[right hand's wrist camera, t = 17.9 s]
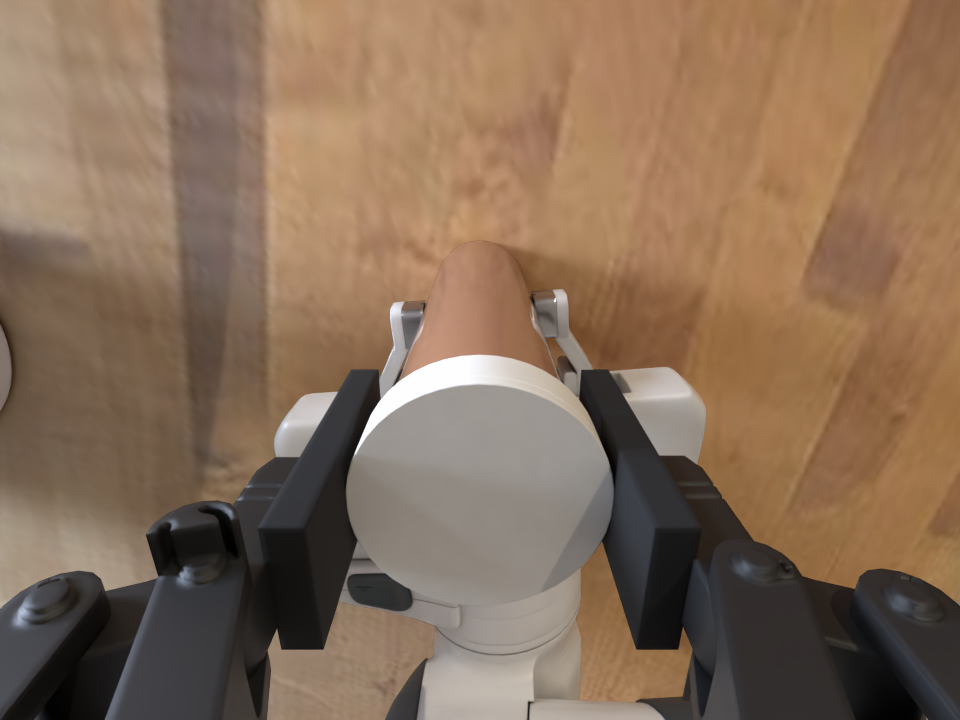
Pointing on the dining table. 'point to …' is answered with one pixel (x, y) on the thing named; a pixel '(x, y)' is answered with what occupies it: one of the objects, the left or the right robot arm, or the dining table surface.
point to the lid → (479, 482)
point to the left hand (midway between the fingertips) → (477, 298)
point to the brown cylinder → (479, 312)
